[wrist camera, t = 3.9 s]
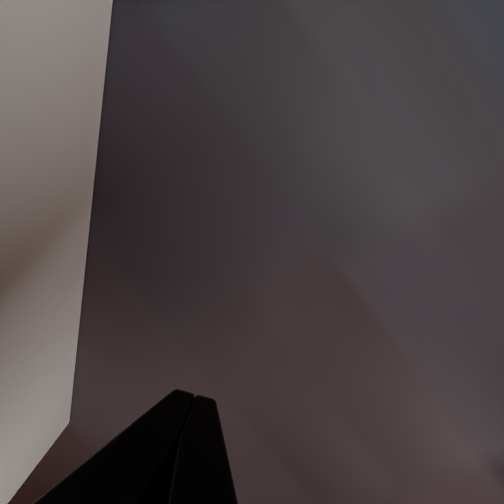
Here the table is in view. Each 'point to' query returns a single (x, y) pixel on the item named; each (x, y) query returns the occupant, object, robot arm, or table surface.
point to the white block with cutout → (44, 213)
